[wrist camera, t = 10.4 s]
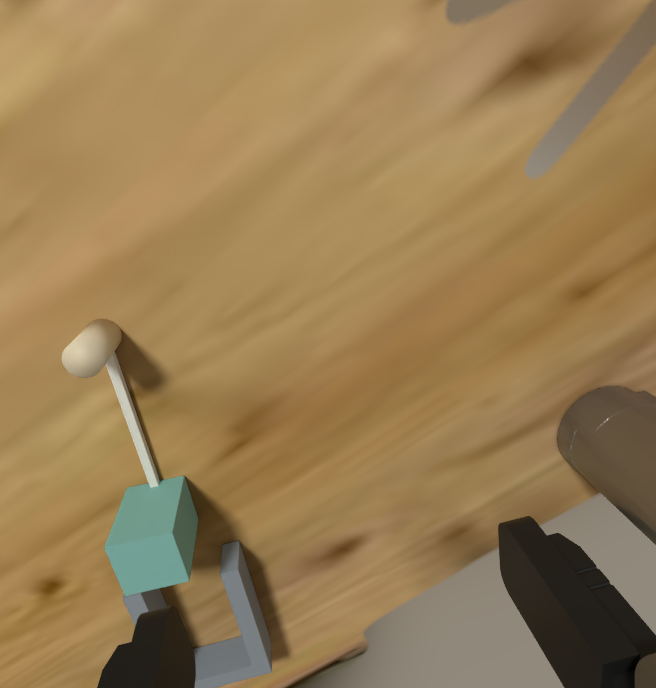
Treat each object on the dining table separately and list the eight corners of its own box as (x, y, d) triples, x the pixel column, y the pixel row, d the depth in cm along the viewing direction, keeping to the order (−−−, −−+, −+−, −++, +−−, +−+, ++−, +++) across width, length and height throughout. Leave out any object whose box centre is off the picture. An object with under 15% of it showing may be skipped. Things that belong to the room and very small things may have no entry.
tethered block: (131, 313, 36) (105, 345, 30) (198, 519, 44) (189, 581, 37) (64, 325, 36) (23, 361, 29) (143, 531, 44) (125, 596, 37)
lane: (239, 540, 45) (238, 569, 42) (270, 639, 51) (271, 672, 48) (131, 567, 45) (122, 598, 42) (175, 664, 50) (169, 699, 47)
